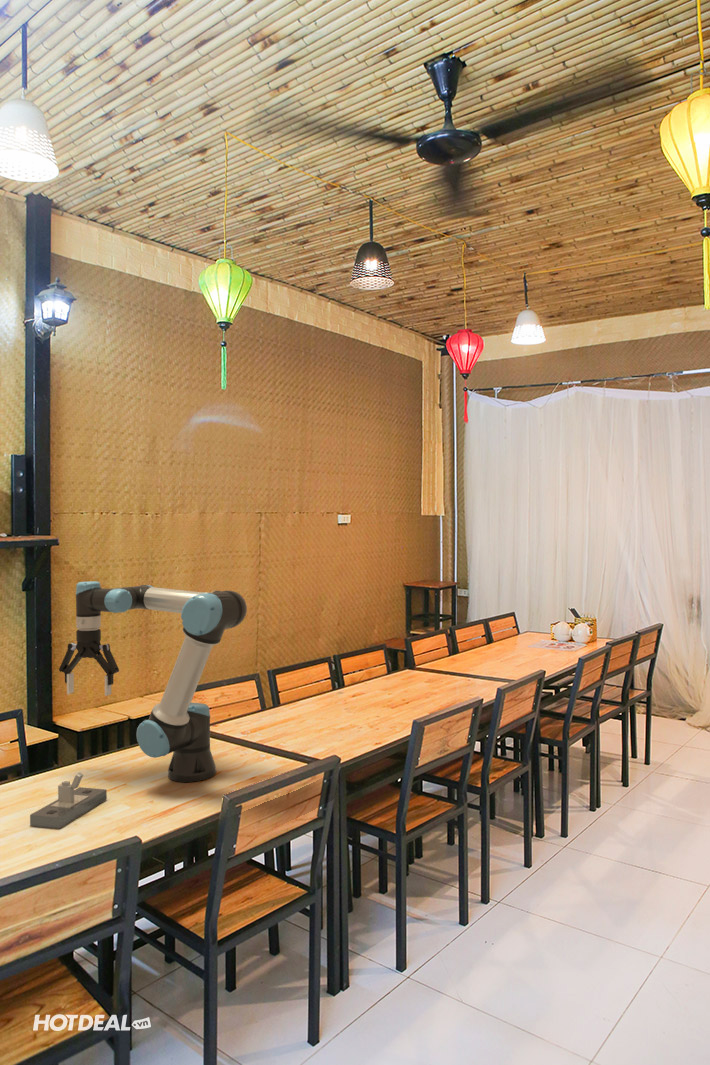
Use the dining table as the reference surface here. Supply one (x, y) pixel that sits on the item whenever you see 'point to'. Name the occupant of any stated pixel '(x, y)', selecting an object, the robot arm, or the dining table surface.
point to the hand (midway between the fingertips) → (89, 694)
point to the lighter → (68, 789)
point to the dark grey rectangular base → (68, 808)
